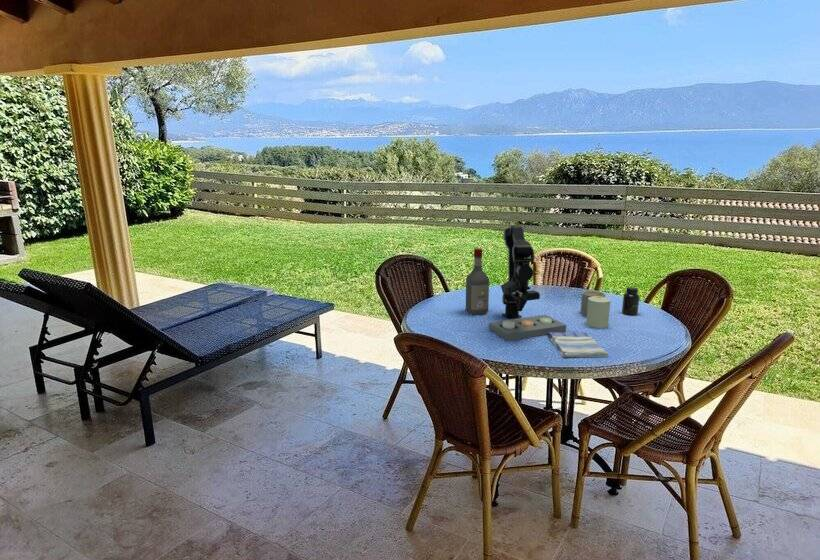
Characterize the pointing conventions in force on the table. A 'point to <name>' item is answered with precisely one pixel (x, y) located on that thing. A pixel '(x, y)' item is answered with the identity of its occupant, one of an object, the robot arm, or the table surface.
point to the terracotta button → (527, 323)
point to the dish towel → (576, 345)
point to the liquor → (477, 287)
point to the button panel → (527, 328)
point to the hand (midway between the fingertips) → (519, 311)
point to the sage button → (545, 320)
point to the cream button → (508, 325)
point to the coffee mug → (585, 300)
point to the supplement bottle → (630, 301)
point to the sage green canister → (598, 312)
